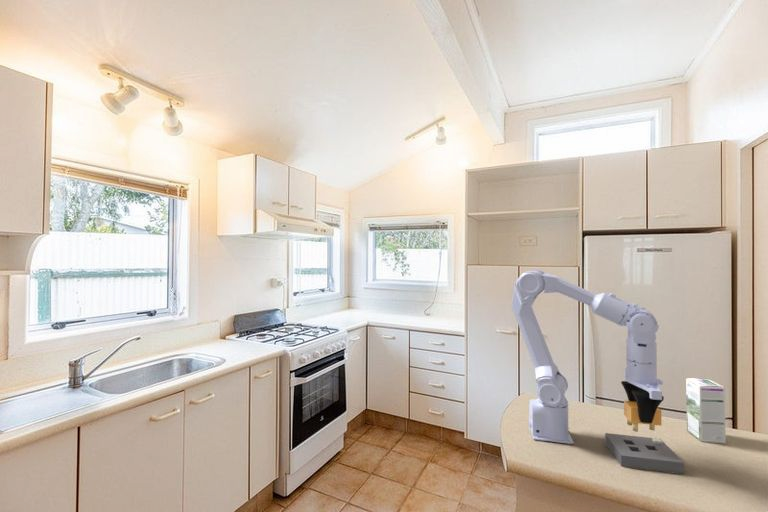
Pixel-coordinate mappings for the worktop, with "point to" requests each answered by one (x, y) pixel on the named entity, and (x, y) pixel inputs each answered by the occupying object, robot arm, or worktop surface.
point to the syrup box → (705, 410)
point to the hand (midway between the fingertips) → (641, 417)
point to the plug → (633, 416)
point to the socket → (644, 453)
